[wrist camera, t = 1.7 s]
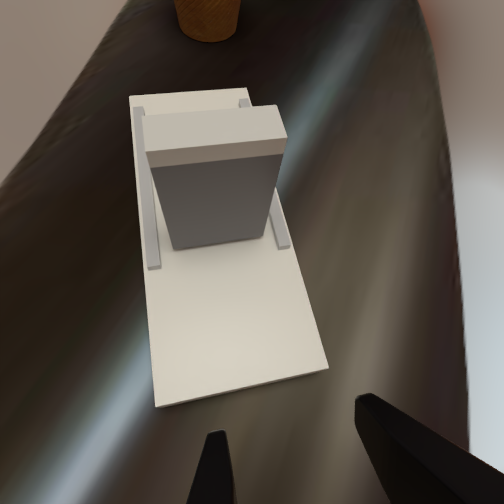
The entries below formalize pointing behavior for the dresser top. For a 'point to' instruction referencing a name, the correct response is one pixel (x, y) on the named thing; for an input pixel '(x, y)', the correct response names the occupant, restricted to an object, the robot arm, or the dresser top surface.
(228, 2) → the disposable coffee cup
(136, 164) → the white slider track base
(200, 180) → the fader tab
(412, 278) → the dresser top surface
